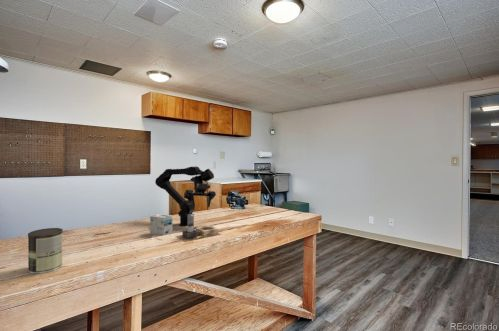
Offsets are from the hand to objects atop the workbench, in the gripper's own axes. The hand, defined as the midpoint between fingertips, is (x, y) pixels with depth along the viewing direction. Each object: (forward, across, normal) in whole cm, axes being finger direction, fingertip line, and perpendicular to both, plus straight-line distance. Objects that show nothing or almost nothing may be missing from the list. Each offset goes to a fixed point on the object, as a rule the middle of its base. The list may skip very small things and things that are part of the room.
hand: (201, 207), depth 151 cm
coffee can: (+30, -68, -4) cm, 75 cm away
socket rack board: (+19, -4, -1) cm, 19 cm away
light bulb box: (+12, -21, +12) cm, 27 cm away
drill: (+19, -10, -2) cm, 21 cm away
